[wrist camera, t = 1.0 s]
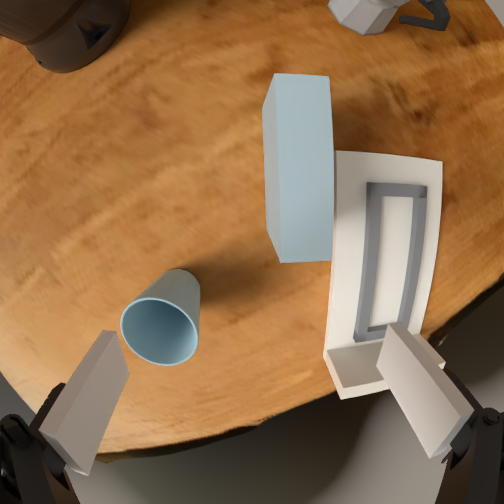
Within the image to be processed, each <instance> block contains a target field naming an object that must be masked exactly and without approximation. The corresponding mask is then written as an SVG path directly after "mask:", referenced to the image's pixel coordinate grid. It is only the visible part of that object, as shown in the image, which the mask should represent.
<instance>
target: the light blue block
mask: <svg viewBox="0 0 504 504" xmlns="http://www.w3.org/2000/svg"><path fill="white" fill-rule="evenodd" d="M262 117H263V141H264V167H265V197H266V229H267V232H268V234H269V236H270V239H271V241H272V243H273V246H274V248H275V251H276V253H277V255H278V258H279V260H280V263H293V262H312V261H329V260H332V254H333V229H334V153H333V128H332V111H331V97H330V85H329V77H327V76H316V75H302V74H276V73H275V74H274V76H273V79H272V82H271V84H270V87H269V90H268V93H267V96H266V98H265V101H264V104H263V107H262Z"/></svg>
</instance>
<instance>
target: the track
mask: <svg viewBox="0 0 504 504" xmlns="http://www.w3.org/2000/svg"><path fill="white" fill-rule="evenodd" d="M333 153H334V229H333V254H332V264H331V280H330V294H329V306H328V317H327V327H326V336H325V345H324V353H323V357H324V359H325V362H326V364H327V367H328V369H329V372H330V374H331V377H332V379H333V381H334V384H335V386H336V389H337V391H338V394H339V396H340V399H346V398H350V397H355V396H360V395H365V394H370V393H374V392H378V391H382V390H386V389H390V388H389V386H388V385H387V383H386V381H385V380H384V378H383V376H382V375H381V373H380V371H379V370H378V368H377V367H376V365H377V362H378V358H379V355H380V352H381V348H382V345H383V341H384V337H385V334H386V330H387V326H388V324H389V323H396V322H401V323H402V324H403V325H404V326H405V328H406V329H407V330H408V331H409V332H410V333H411V334H412V335H413V336H414V338H415V339H416V340H417V341H418V342H419V343H420V344H421V345H422V347H423V348H424V349H425V350H426V351H427V352H428V354H429V355H430V356H431V357H432V358H433V359H434V361H435V362H436V363H437V364H438V365H439V366H440V368H441V369H443V367H444V365H445V361H444V360H443V359H442V358H441V356H439V354H438V353H437V352H436V351H435V350H434V349H433V348H432V347H431V346H430V344H429V343H428V342H427V341H426V340H425V339H424V338H423V337H422V336H421V335H420V334H419V333H420V330H421V326H422V322H423V318H424V314H425V310H426V306H427V302H428V297H429V292H430V287H431V282H432V277H433V271H434V265H435V259H436V252H437V245H438V237H439V227H440V216H441V201H442V161H435V160H429V159H422V158H415V157H407V156H398V155H389V154H379V153H367V152H354V151H333Z"/></svg>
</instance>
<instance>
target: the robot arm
mask: <svg viewBox="0 0 504 504" xmlns="http://www.w3.org/2000/svg"><path fill="white" fill-rule="evenodd" d="M129 13H130V1H129V0H0V35H1V36H3V37H6V38H9V39H11V40H14V41H16V42H19V43H21V44H23V45H25V46H26V47H27V49H28V50H29V51H30V52H31V54H32V55H33V56H35V59H36V61H37V62H38V63H39V65H41V66H42V67H43V68H45V69H47V70H50V71H52V72H55V73H68V72H72V71H75V70H77V69H79V68H82V67H83V66H85V65H87V64H89V63H90V62H92V61H93V60H95V59H96V58H97V57H98V56H100V55H101V54H102V53H103V52H104V51H105V50H106V49H107V48H108V47H109V46H110V45H111V44H112V43H113V42H114V41H115V39H116V38H117V37H118V36H119V34H120V33H121V31H122V30H123V28H124V26H125V24H126V22H127V19H128V17H129ZM376 367H377V368H378V370H379V371H380V373H381V375H382V376H383V378H384V380H385V381H386V383H387V385H388V386H389V388H390V390H391V391H392V393H393V395H394V396H395V398H396V400H397V401H398V403H399V405H400V407H401V408H402V410H403V412H404V414H405V415H406V417H407V419H408V421H409V422H410V424H411V426H412V428H413V430H414V431H415V433H416V435H417V437H418V438H419V440H420V442H421V444H422V446H423V448H424V449H425V451H426V453H427V455H428V457H429V458H432V457H434V456H436V455H438V454H440V453H442V452H444V450H445V449H446V448H447V447H448V446H449V444H450V445H451V447H452V449H451V451H450V452H449V453H448V454H447V455H446V456H445V458H444V459H443V460H442V462H441V463H444V462H445V461H446V460H447V459H448V461H447V463H446V464H447V465H446V469H445V473H444V476H443V480H442V483H441V486H440V490H439V493H438V496H437V499H436V502H435V504H504V412H502V413H499V412H498V411H497V410H495V409H493V408H484V409H483V408H482V406H481V405H480V404H479V403H478V401H477V400H476V399H475V398H474V396H473V395H472V394H471V393H470V391H469V390H468V389H467V388H465V385H464V384H463V383H462V382H460V380H459V378H458V377H457V376H456V375H455V374H454V373H453V372H451V371H450V370H448V369H447V368H444V369H441V368H440V366H439V365H438V364H437V363H436V362H435V361H434V359H433V358H432V357H431V356H430V355H429V354H428V352H427V351H426V350H425V349H424V348H423V347H422V345H421V344H420V343H419V342H418V341H417V340H416V339H415V338H414V336H413V335H412V334H411V333H410V332H409V331H408V330H407V329H406V328H405V326H404V325H403V324H402V323H401V322H396V323H389V324H388V326H387V330H386V334H385V337H384V341H383V345H382V348H381V352H380V355H379V358H378V362H377V365H376ZM128 377H129V371H128V368H127V365H126V362H125V359H124V356H123V352H122V349H121V346H120V342H119V339H118V335H117V332H116V331H106V330H103V331H102V333H101V334H100V335H99V337H98V338H97V340H96V341H95V342H94V344H93V345H92V347H91V348H90V349H89V351H88V352H87V354H86V355H85V357H84V358H83V360H82V361H81V363H80V364H79V366H78V367H77V369H76V370H75V372H74V373H73V375H72V376H71V378H70V379H69V381H68V382H67V384H65V383H60V384H59V385H57V386H56V387H55V388H53V389H52V391H51V392H50V394H49V395H48V398H47V399H46V400H45V402H44V403H43V405H42V406H41V408H40V409H39V411H38V413H37V414H36V416H35V418H34V419H33V421H32V422H31V424H30V426H29V427H28V425H27V424H26V423H25V421H24V420H23V419H22V418H21V417H20V416H19V415H16V414H9V415H7V416H5V417H4V418H2V419H1V421H0V433H1V434H0V504H80V502H79V500H78V498H77V496H76V494H75V492H74V489H73V487H72V484H71V482H70V479H69V477H68V475H67V472H66V471H65V469H64V467H65V464H67V465H68V466H69V467H70V468H71V469H72V470H73V471H76V472H79V473H82V474H84V475H89V472H90V470H91V467H92V464H93V461H94V459H95V456H96V453H97V451H98V448H99V446H100V443H101V441H102V438H103V435H104V433H105V430H106V428H107V425H108V423H109V421H110V418H111V416H112V413H113V411H114V409H115V406H116V404H117V402H118V399H119V397H120V395H121V392H122V390H123V388H124V386H125V383H126V381H127V379H128ZM1 469H2V470H3V474H2V475H1Z"/></svg>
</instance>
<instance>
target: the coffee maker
mask: <svg viewBox="0 0 504 504" xmlns="http://www.w3.org/2000/svg"><path fill="white" fill-rule="evenodd" d="M409 1H410V0H330V1H329V3H328V5H327V6H328V7H329V9H330V10H331V12H332V13H333V15H334V16H335V18H336V19H337V21H338V22H339V24H341V25H343V26H345V27H347V28H349V29H351V30H353V31H355V32H357V33H359V34H361V35H363V36H364V35H371V34H378V33H382V32H383V30H384V29H385V28H386V26H387V25H388V23H389V22H390V20H391V19H392V17H393V16H394V14H395V13H396V11H397V10H398V8H399V6H401V5H403V4H405V3H407V2H409ZM418 1H419V2H420V3H421V4H422V5H424V6H425V7H426V8H427V9H428V10H429V11H430V12H431V13H432V14H433V15H434V17H435V18H434V20H428V19H423V18H417V17H412V16H405V15H404V16H400V19H399V22H400V23H404V24H409V25H415V26H420V27H424V28H429V29H433V30H437V31H445V29H446V27H447V25H448V22H449V20H450V14H449V11H448V9H447V7H446V6H445V4H444V3H445V2H446V0H418Z"/></svg>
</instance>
